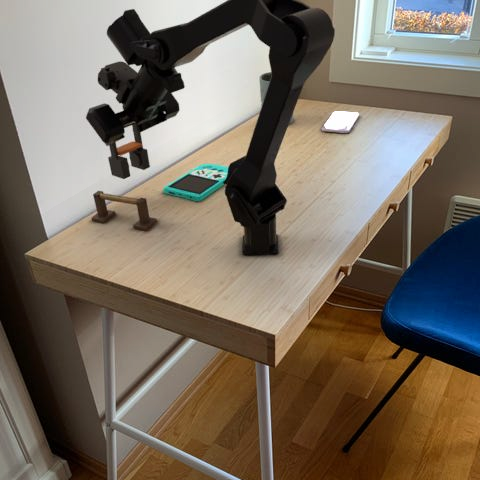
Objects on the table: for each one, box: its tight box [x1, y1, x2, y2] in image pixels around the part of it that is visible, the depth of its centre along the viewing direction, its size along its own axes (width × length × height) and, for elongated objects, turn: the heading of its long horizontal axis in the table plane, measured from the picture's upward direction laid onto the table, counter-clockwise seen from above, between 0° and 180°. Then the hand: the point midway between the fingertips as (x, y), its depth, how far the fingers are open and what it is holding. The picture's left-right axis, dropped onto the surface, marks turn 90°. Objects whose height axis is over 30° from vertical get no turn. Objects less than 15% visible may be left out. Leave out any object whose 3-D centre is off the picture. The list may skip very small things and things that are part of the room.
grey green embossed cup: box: [259, 71, 294, 125], centre depth 145 cm, size 10×10×12 cm
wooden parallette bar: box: [91, 190, 158, 232], centre depth 104 cm, size 13×4×6 cm, turn 66°
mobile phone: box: [321, 111, 360, 134], centre depth 144 cm, size 8×1×15 cm
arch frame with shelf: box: [107, 122, 151, 180], centre depth 106 cm, size 7×4×10 cm, turn 141°
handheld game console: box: [163, 163, 229, 202], centre depth 118 cm, size 10×16×1 cm, turn 148°
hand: (120, 137), depth 105 cm, fingers closed on arch frame with shelf, 7 cm apart
